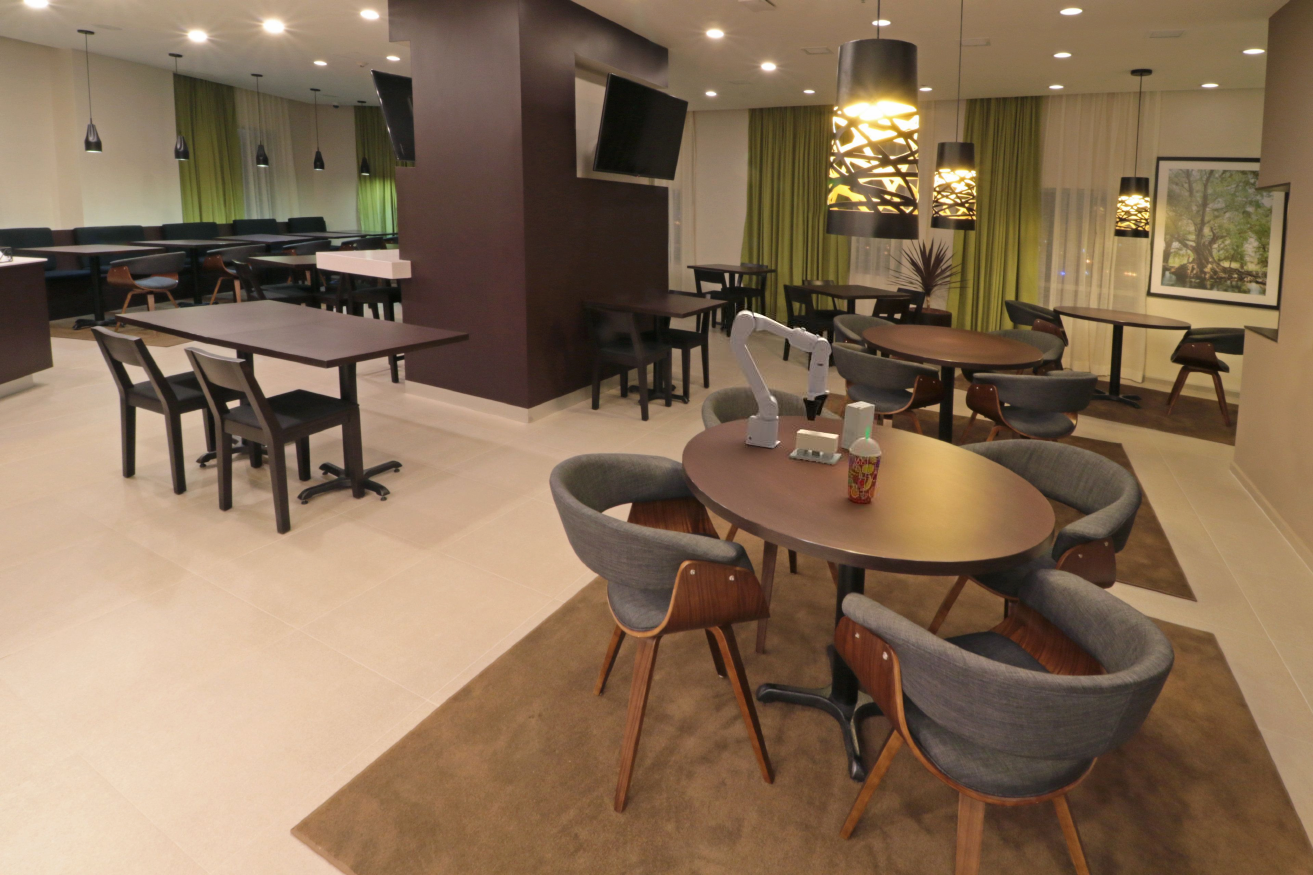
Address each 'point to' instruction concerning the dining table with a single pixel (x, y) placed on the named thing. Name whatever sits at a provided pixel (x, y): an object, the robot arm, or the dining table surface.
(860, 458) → the smoothie
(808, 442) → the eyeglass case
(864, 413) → the skincare box
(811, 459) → the display stand
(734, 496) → the dining table surface
